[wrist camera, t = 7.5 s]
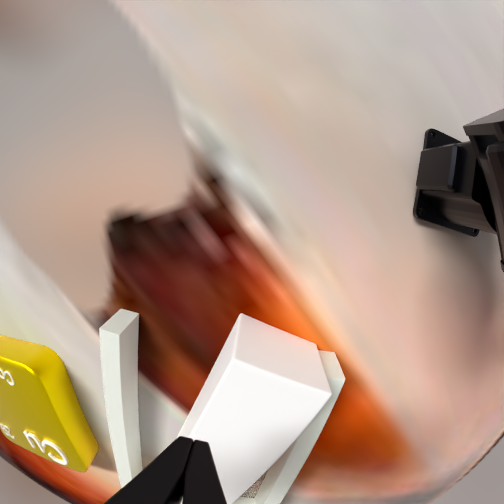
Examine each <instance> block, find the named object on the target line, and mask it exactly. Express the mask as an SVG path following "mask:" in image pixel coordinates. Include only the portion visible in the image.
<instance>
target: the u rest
mask: <svg viewBox="0 0 504 504" xmlns="http://www.w3.org/2000/svg"><path fill="white" fill-rule="evenodd" d="M138 328H139V313H135V312H131V311H128V310H124V309H120V310H119V311H118V312H117V313H116V314H115V315H114V316H112V317H111V318H110V319H109V320H108V321H107V322H106V323H105V324H104V325H103V326H101V327H100V328H99V332H100V354H101V368H102V379H103V389H104V398H105V406H106V413H107V420H108V427H109V433H110V438H111V444H112V449H113V454H114V459H115V463H116V468H117V472H118V476H119V480H120V484H121V488H123V487H124V486H125V485H126V484H127V483H128V482H130V481H131V480H132V479H133V478H134V477H135V476H136V475H138V474H139V473H140V472H141V471H142V470H143V466H142V456H141V444H140V430H139V411H138ZM318 352H319V355H320V358H321V361H322V364H323V367H324V370H325V373H326V376H327V380H328V383H329V386H330V389H331V392H332V395H331V397H330V398H329V399H328V401H327V402H326V403H325V405H324V406H323V407H322V408H321V410H320V411H319V412H318V413H317V415H316V416H315V417H314V418H313V420H312V421H311V422H310V423H309V424H308V426H307V427H306V428H305V429H304V430H303V432H302V433H301V434H300V435H299V436H298V437H297V439H296V440H295V441H294V442H293V443H292V444H291V445H290V446H289V448H288V449H287V450H286V451H285V452H284V453H283V454H282V455H281V456H280V457H279V458H278V459H277V461H276V462H275V463H274V464H273V465H272V466H271V467H270V468H269V469H268V471H267V473H266V476H265V478H264V480H263V482H262V484H261V486H260V488H259V490H258V492H257V494H256V496H255V498H249V497H241V496H240V497H239V498H238V499H237V500H235V501H234V502H233V503H232V504H280V503H281V501H282V499H283V498H284V496H285V495H286V493H287V492H288V490H289V488H290V487H291V485H292V483H293V482H294V480H295V478H296V477H297V475H298V473H299V472H300V470H301V468H302V466H303V465H304V463H305V461H306V459H307V458H308V456H309V454H310V452H311V450H312V448H313V446H314V445H315V443H316V441H317V439H318V437H319V435H320V433H321V431H322V429H323V427H324V425H325V423H326V421H327V419H328V417H329V415H330V413H331V411H332V408H333V406H334V404H335V402H336V400H337V398H338V395H339V393H340V391H341V389H342V386H343V384H344V382H345V377H344V374H343V372H342V369H341V367H340V364H339V362H338V359H337V357H336V355H335V352H329V351H322V350H318Z"/></svg>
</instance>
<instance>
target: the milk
mask: <svg viewBox="0 0 504 504" xmlns="http://www.w3.org/2000/svg"><path fill="white" fill-rule="evenodd" d="M331 395H332V392H331V389H330V386H329V383H328V380H327V376H326V373H325V370H324V367H323V364H322V361H321V358H320V355H319V352H318V348H317V345H316V344H315V343H312V342H310V341H307V340H305V339H302V338H300V337H297V336H295V335H292V334H290V333H287V332H285V331H283V330H280V329H278V328H275V327H273V326H270V325H268V324H266V323H263V322H261V321H259V320H256V319H254V318H252V317H249V316H247V315H245V314H242V313H241V314H240V315H239V317H238V319H237V321H236V323H235V325H234V327H233V329H232V331H231V333H230V335H229V337H228V339H227V341H226V343H225V345H224V347H223V348H222V350H221V352H220V354H219V356H218V358H217V360H216V362H215V364H214V366H213V368H212V370H211V372H210V374H209V376H208V378H207V380H206V382H205V384H204V386H203V388H202V390H201V392H200V394H199V396H198V397H197V399H196V401H195V403H194V405H193V407H192V409H191V411H190V413H189V415H188V417H187V419H186V421H185V423H184V424H183V426H182V428H181V430H180V432H179V434H178V436H177V438H178V437H179V436H184V437H188V438H192V439H193V440H201V441H206V442H208V443H209V445H210V449H211V452H212V456H213V459H214V463H215V466H216V470H217V473H218V476H219V480H220V483H221V486H222V489H223V492H224V496H225V499H226V502H227V504H232V503H233V502H234V501H235V500H237V499H238V498H239V497H240V496H241V495H242V494H243V493H244V492H245V491H246V490H247V489H248V488H250V487H251V486H252V485H253V484H254V483H255V482H256V481H257V480H258V479H259V478H260V477H261V476H262V475H263V474H264V473H265V472H266V471H267V470H268V469H269V468H270V467H271V466H272V465H273V464H274V463H275V462H276V461H277V459H278V458H279V457H280V456H281V455H282V454H283V453H284V452H285V451H286V450H287V449H288V448H289V446H290V445H291V444H292V443H293V442H294V441H295V440H296V439H297V437H298V436H299V435H300V434H301V433H302V432H303V430H304V429H305V428H306V427H307V426H308V424H309V423H310V422H311V421H312V420H313V418H314V417H315V416H316V415H317V413H318V412H319V411H320V410H321V408H322V407H323V406H324V405H325V403H326V402H327V401H328V399H329V398H330V397H331ZM177 438H176V439H177ZM182 499H183V498H182ZM181 504H182V502H181Z"/></svg>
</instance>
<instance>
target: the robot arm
mask: <svg viewBox="0 0 504 504" xmlns="http://www.w3.org/2000/svg"><path fill="white" fill-rule="evenodd" d="M463 128H464V130H465V133H466V135H467V136H469V139H470V141H468V142H463V143H462V142H460V141H458V140H456V139H454V138H452V137H450V136H448V135H446V134H444V133H442V132H440V131H437V130H435V129H429V130H427V131H426V132H425V139H424V147H423V151H421V157H420V164H419V170H418V176H417V182H416V186H417V192H416V197H415V202H414V207H413V214H414V216H415V217H416V218H419V219H422V220H425V221H428V222H431V223H434V224H438V225H441V226H444V227H447V228H450V229H453V230H456V231H458V232H461V233H464V234H467V235H470V236H473V237H476V236H477V235H478V233H479V230H483V231H487V232H491V233H494V234H497V235H498V240H499V246H500V252H501V258H502V260H501V268H502V270H503V272H504V109H502V110H499V111H497V112H495V113H492V114H490V115H488V116H485V117H483V118H480V119H478V120H476V121H473V122H471V123H469V124H466V125H464V126H463ZM431 133H432V134H433V138H432V137H431ZM420 208H421V209H422V213H421V214H419V209H420ZM473 228H474V232H473ZM182 498H183V499H182ZM181 502H182V504H227V502H226V499H225V496H224V492H223V489H222V486H221V483H220V480H219V476H218V473H217V470H216V466H215V463H214V459H213V456H212V452H211V449H210V445H209V443H208V442H206V441H201V440H193V439H192V438H188V437H184V436H179V437H178V438H177V439H176V440H174V441H173V442H172V443H171V444H170V445H169V446H168V447H167V448H166V449H165V450H164V451H163V452H162V453H161V454H160V455H159V456H157V457H156V458H155V459H154V460H153V461H152V462H151V463H150V464H149V465H148V466H147V467H145V468H144V469H143V470H142V471H141V472H140V473H139V474H138V475H136V476H135V477H134V478H133V479H132V480H131V481H130V482H128V483H127V484H126V485H125V486H124V487H123V488H121V489H120V490H119V491H118V492H117V493H116V494H114V495H113V496H112V497H111V498H110V499H108V500H107V501H106V502H105V504H181Z"/></svg>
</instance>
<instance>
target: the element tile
mask: <svg viewBox="0 0 504 504" xmlns="http://www.w3.org/2000/svg"><path fill="white" fill-rule="evenodd" d="M0 429H1V431H2V432H3V434H4V435H5V436H6V437H7V438H8V439H9V440H11V441H12V442H14V443H16V444H17V445H19V446H21V447H23V448H25V449H27V450H29V451H31V452H33V453H35V454H37V455H39V456H42V457H44V458H46V459H48V460H50V461H53V462H55V463H57V464H60V465H62V466H65V467H67V468H70V469H72V470H75V471H78V472H86V471H87V470H88V468H89V466H90V465H91V463H92V461H93V459H94V458H95V456H96V454H97V452H98V450H99V446H98V443H97V441H96V439H95V437H94V435H93V433H92V431H91V429H90V427H89V425H88V423H87V420H86V418H85V416H84V414H83V411H82V409H81V407H80V404H79V402H78V399H77V397H76V394H75V392H74V389H73V387H72V384H71V381H70V379H69V376H68V373H67V370H66V368H65V365H64V363H63V362H62V360H61V359H60V357H59V356H58V355H57V354H56V353H55V352H54V351H53V350H52V349H50V348H49V347H46V346H44V345H39V344H35V343H31V342H27V341H22V340H19V339H15V338H11V337H7V336H3V335H0Z"/></svg>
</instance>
